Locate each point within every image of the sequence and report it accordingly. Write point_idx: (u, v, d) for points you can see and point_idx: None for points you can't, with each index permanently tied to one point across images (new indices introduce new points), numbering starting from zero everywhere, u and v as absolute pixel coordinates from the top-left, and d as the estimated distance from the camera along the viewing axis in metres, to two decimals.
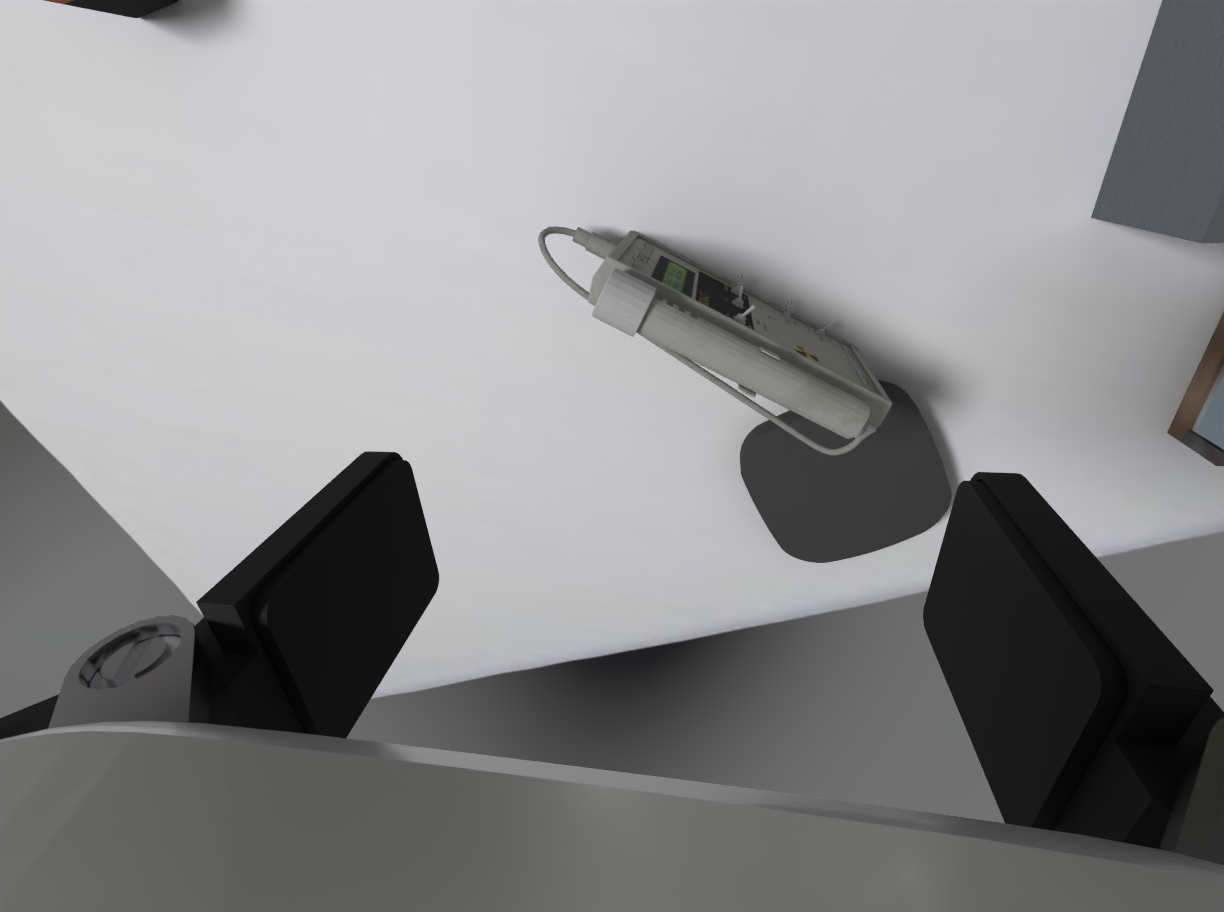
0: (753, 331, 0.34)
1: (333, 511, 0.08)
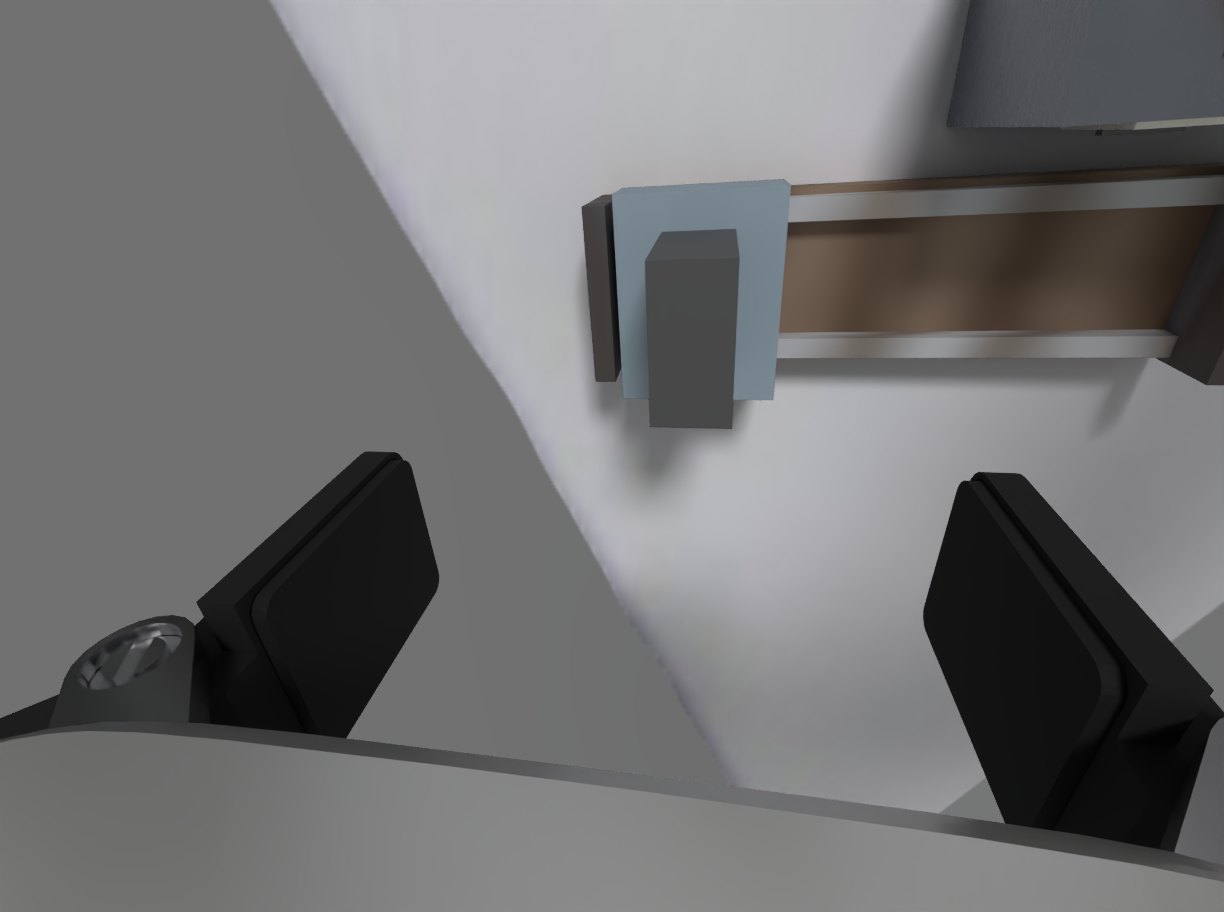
0: None
1: (333, 511, 0.08)
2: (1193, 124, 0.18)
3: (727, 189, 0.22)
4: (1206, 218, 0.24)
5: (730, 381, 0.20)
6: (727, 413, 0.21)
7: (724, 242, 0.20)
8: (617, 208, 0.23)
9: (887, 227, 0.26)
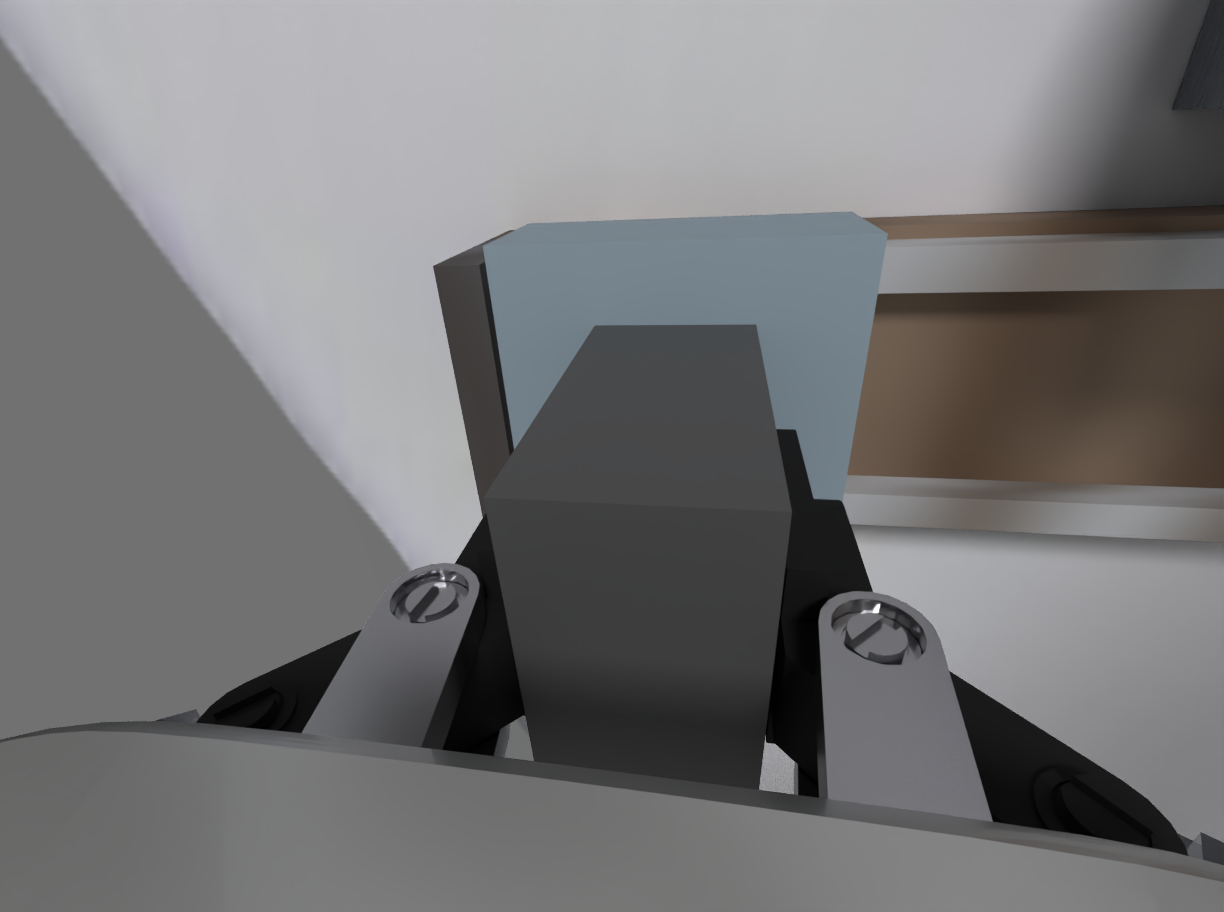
0: None
1: None
2: None
3: (738, 240, 0.10)
4: None
5: (750, 780, 0.07)
6: None
7: (733, 390, 0.08)
8: (497, 274, 0.11)
9: (1042, 303, 0.13)
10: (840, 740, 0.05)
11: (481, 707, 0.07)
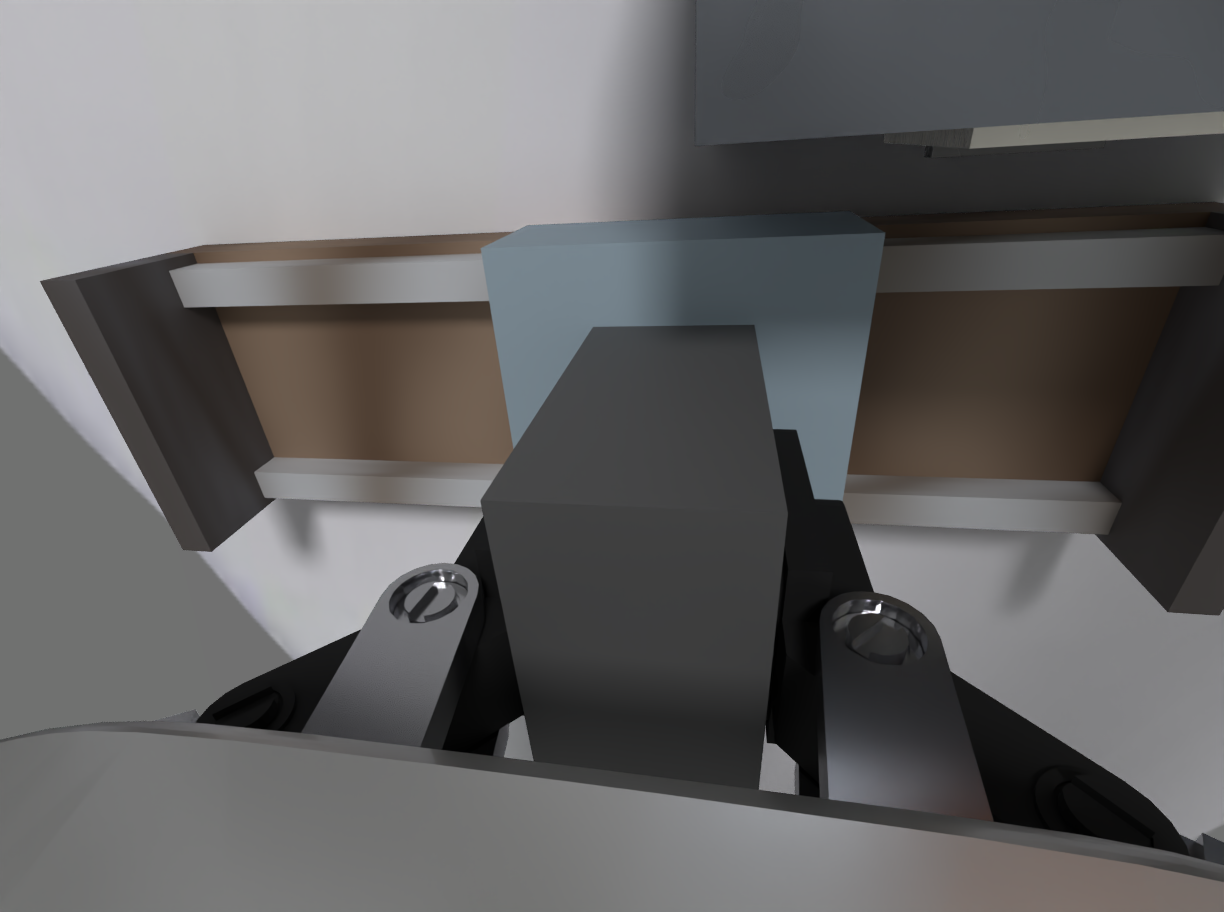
0: None
1: None
2: (1107, 136, 0.08)
3: (735, 240, 0.10)
4: (1165, 305, 0.13)
5: (750, 781, 0.07)
6: None
7: (731, 391, 0.08)
8: (495, 276, 0.11)
9: None
10: (841, 740, 0.05)
11: (480, 707, 0.07)
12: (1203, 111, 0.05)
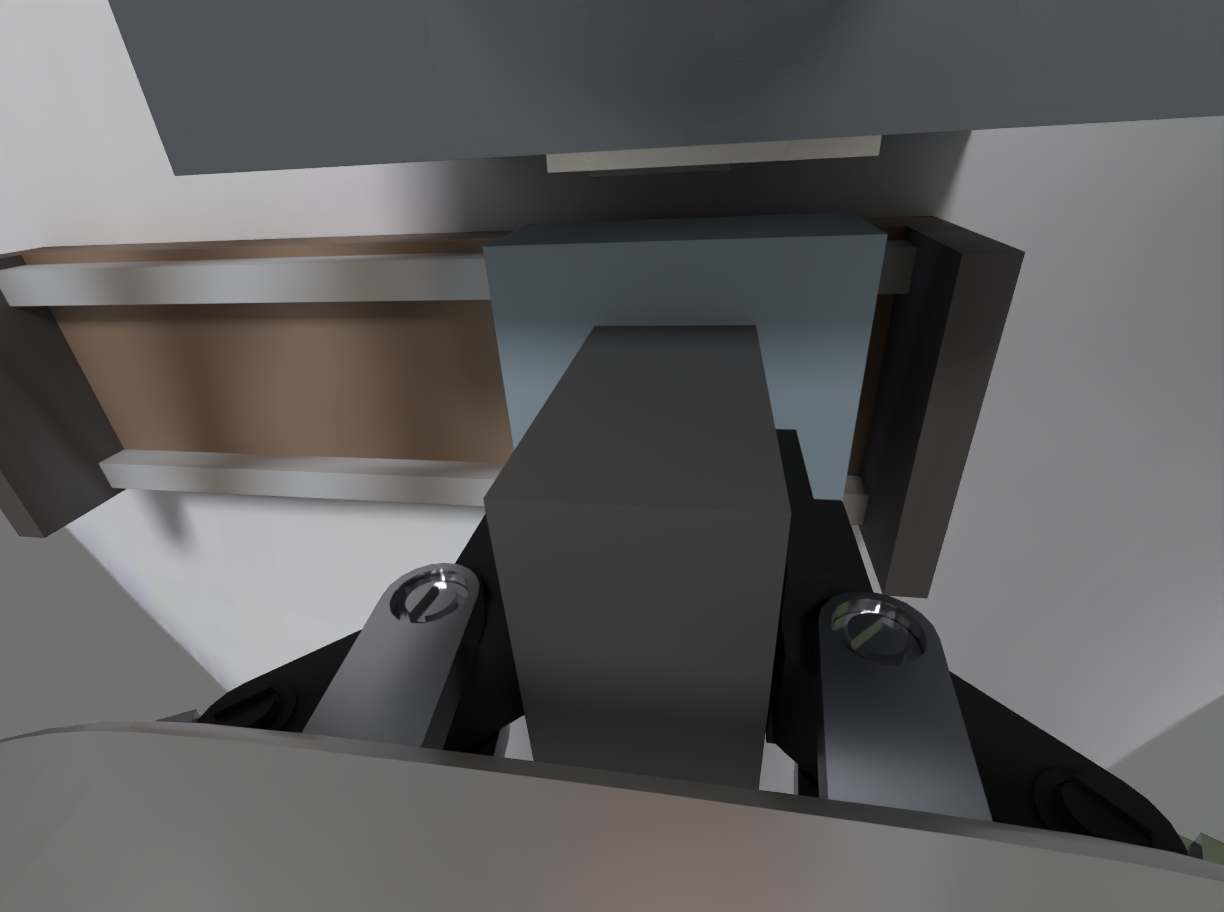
0: None
1: None
2: (654, 163, 0.09)
3: (738, 241, 0.10)
4: (885, 311, 0.14)
5: (749, 781, 0.07)
6: None
7: (733, 391, 0.08)
8: (497, 274, 0.11)
9: (413, 310, 0.16)
10: (840, 740, 0.05)
11: (481, 707, 0.07)
12: (534, 154, 0.06)
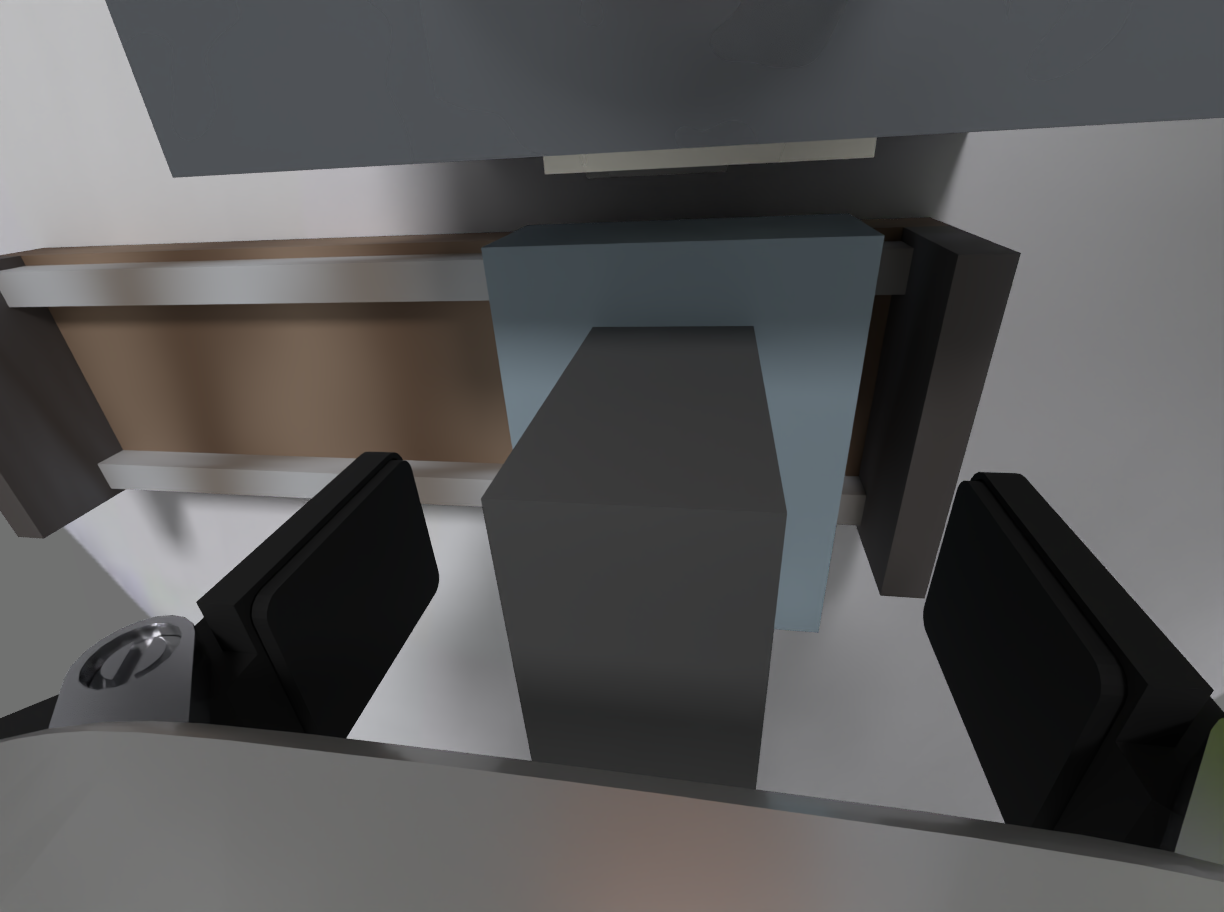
0: None
1: (333, 511, 0.08)
2: (650, 165, 0.09)
3: (735, 242, 0.10)
4: (882, 312, 0.14)
5: (747, 780, 0.07)
6: None
7: (730, 391, 0.08)
8: (496, 275, 0.11)
9: (412, 311, 0.16)
10: None
11: None
12: (530, 156, 0.06)
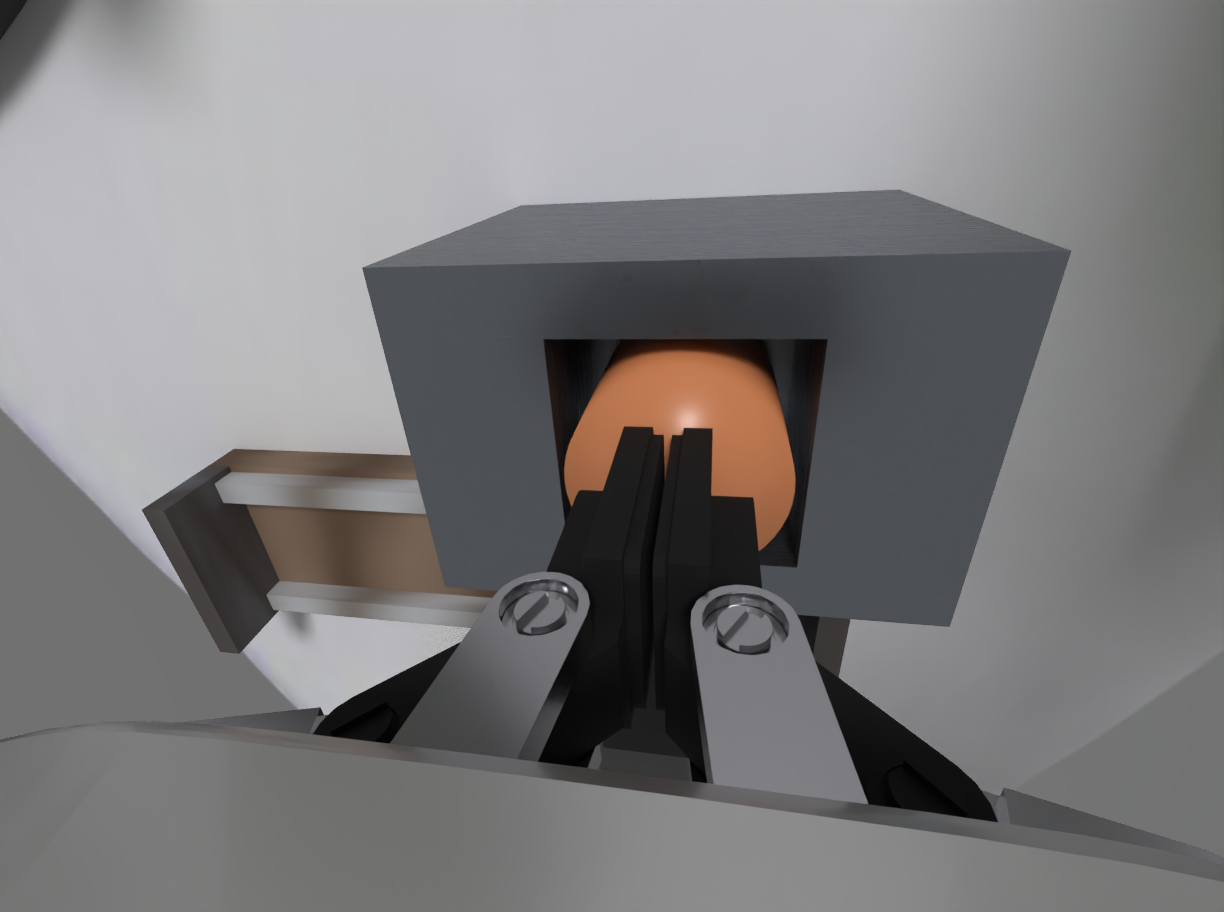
0: None
1: (639, 479, 0.09)
2: None
3: None
4: None
5: None
6: None
7: None
8: None
9: None
10: (722, 741, 0.05)
11: (576, 728, 0.07)
12: None
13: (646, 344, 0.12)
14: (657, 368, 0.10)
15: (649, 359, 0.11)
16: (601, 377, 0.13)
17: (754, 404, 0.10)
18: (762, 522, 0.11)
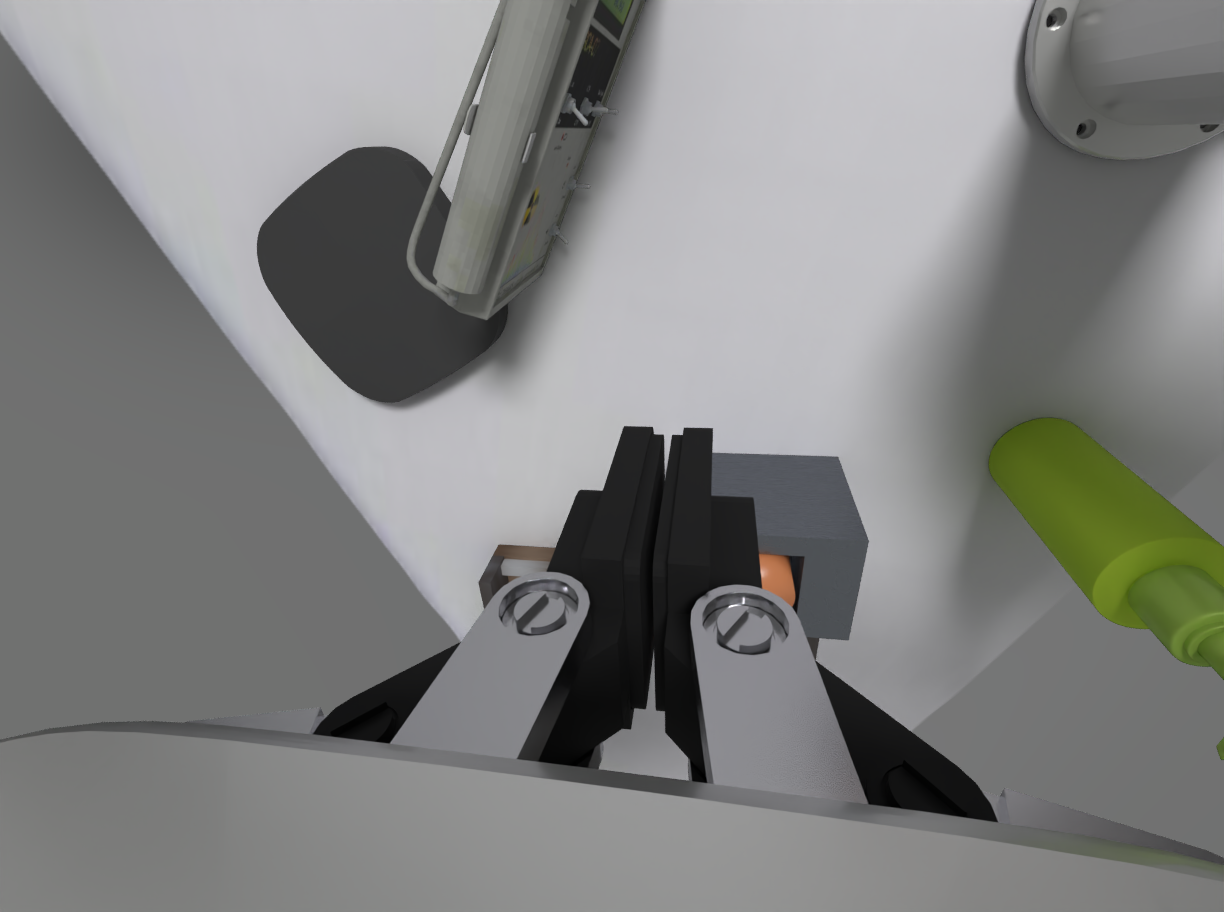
0: (554, 123, 0.25)
1: (639, 479, 0.09)
2: None
3: None
4: None
5: None
6: None
7: None
8: None
9: None
10: (722, 741, 0.05)
11: (577, 729, 0.07)
12: None
13: None
14: None
15: None
16: None
17: (783, 575, 0.34)
18: None
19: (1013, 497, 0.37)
